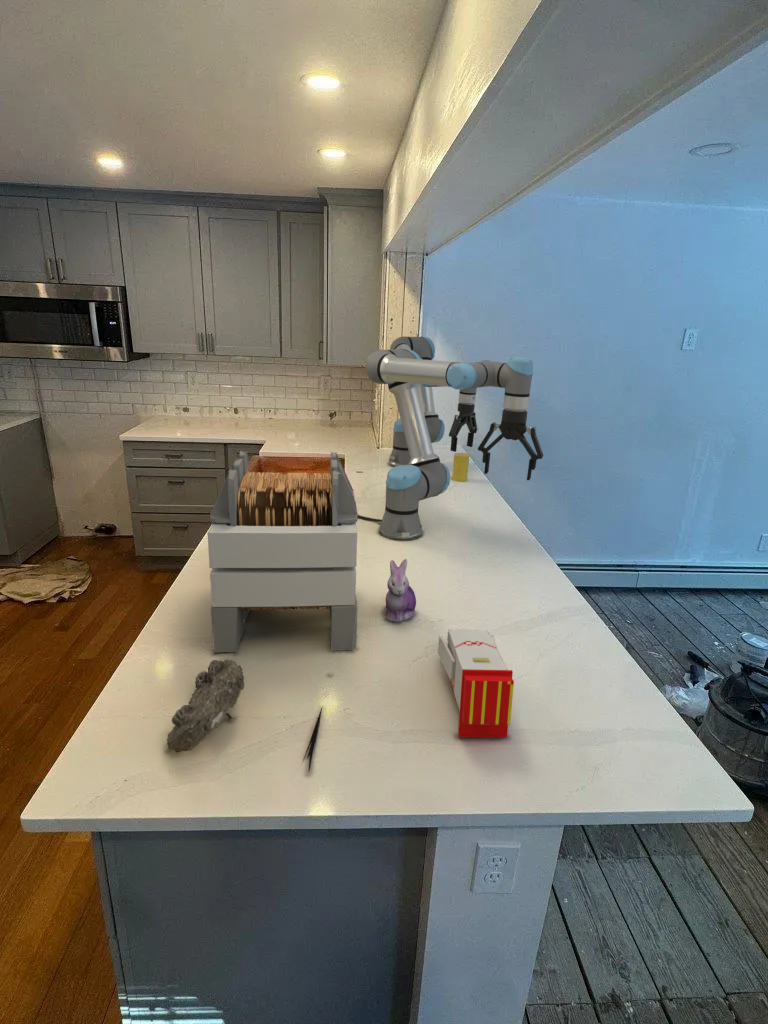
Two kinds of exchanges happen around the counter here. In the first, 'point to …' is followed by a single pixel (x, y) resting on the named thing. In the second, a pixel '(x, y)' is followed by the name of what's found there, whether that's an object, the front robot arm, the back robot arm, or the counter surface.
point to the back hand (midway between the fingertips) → (461, 448)
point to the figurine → (399, 594)
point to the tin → (460, 466)
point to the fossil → (206, 705)
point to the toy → (478, 682)
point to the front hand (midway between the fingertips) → (507, 476)
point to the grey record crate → (283, 549)
